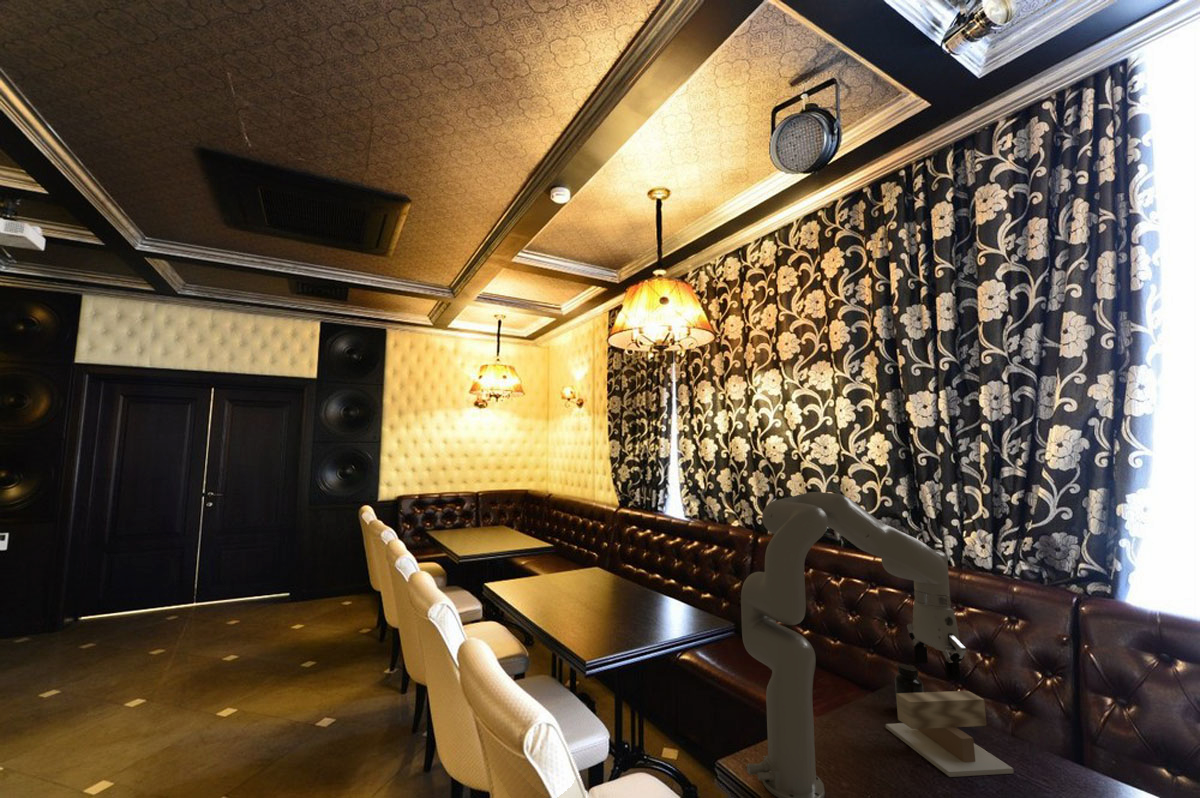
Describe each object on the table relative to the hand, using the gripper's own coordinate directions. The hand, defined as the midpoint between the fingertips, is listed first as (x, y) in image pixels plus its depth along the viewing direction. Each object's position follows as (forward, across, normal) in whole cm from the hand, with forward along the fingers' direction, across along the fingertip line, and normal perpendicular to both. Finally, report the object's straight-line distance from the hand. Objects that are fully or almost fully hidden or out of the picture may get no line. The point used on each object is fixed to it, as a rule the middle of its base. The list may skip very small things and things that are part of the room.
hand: (936, 670), depth 118 cm
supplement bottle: (+18, +17, -6) cm, 26 cm away
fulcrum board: (+18, 0, -1) cm, 18 cm away
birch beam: (+12, 0, -1) cm, 12 cm away
